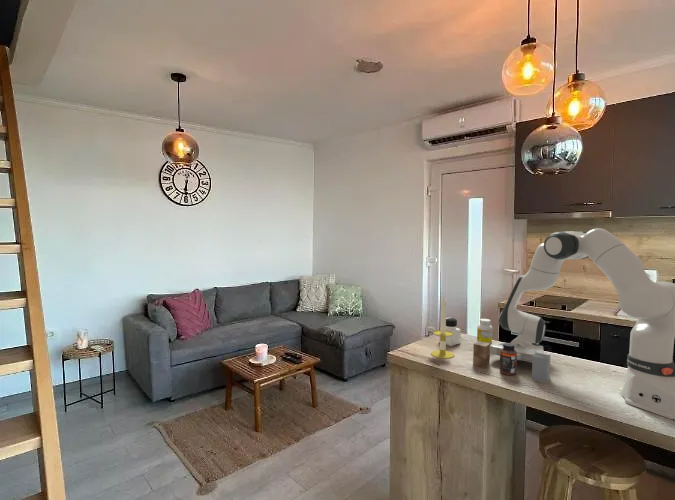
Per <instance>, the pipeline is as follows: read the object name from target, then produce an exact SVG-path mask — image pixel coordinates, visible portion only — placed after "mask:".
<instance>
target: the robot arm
mask: <svg viewBox="0 0 675 500" xmlns="http://www.w3.org/2000/svg"><path fill="white" fill-rule="evenodd" d="M588 258H589V259H590V260H591V261H592V262H593V263H594V264H595V266H597V267H598V268H599V270H600V271H601V272H602V273H603V274H604V275H605V276H606V277H607V279H608V280H609V281H610V282H611V284H612V285H613V287H614V289H615V291H616V293H617V295H618V301H617V302H618V305H619V308H620V309H621V311H622V312H623V313H624V314H626V315H627V316H629V317H633V318H636V319H637V320H636V322H635V324H634V326H633V327H632V329H631V330H630V335H629V336H630V338H629V353H627V358H626V367H627V371H626V377H625V381H624V384H623V388H622V389H621V392H620V395H621V397H622V398H624V402H625V403H626V404H628V405H630V406H633V407H636V408H640V409H643V410H644V411H647V412H651V413H654V414H656V415H659V416H662V417H664V418H667V419H670V420H673V419H674V420H673V421H675V362H674V360H673V359H674V358H673V356H674V344H675V283H673V282H671V281H670V282H669V281H653V280H652V279H651V278H650V276H649V275H648V274H647V272H646V271H645V269H644V263H643V261H642V260H641V259H640V258H639V256H637V255H636V254H635V253H634V252H633V251H632V250H631V249H630V248H629V247H628V246H627V245H626V244H625V243H624V242H623V241H622V240H620V239H619V238H618V237H617V236H615V235H614V234H613V233H611V232H610V231H608V230H607V229H605V228H599V227H596V228H593V229H590V230H589V231H587V232H586V231H572V230H569V231H567V230H566V231H555V232H553V233H551V234H549V235H547V237H546V238H545V239H544V242H542V243H540V244H539V245H538V246H537V247H536V250H535V251H534V254H533V257H532V259H531V262H530V266H529V269H528V271H527V272H526V273H525V274H524V275H523V274H522V275H520V276H519V277H518V279H517V280H516V282H515V284H514V286H513V288H512V291H511V292H510V294H509V296H508V299H507V301H506V303H505V305H504V308H503V309H502V311H501V312H500V314H499V317H498V323H499V325H500V326H501V328H502V329H503V330H506V331H508V332H509V331H510V332H514V333H516V334H519V335H517V336H516V338H513V340H511V342H510V343H511V344H514V349H515V350H516V352H517V361H523V362H527V363H532V359H533V355H534V354H535V353H541V354H545V353H544V352H545V351H544V346H543V345H540V343H541V342H542V341H543V339H544V337H545V336H546V335H545V334H546V330H547V325H546V323H545V320H544V319H543V317H540V316H537V315H535V314H532V313H531V314H530V313H528V312H525V311H521V310H519V309H517V306H518V304H519V302H520V300H521V297H522V296H523V294H524V293H526V292H530V291H545V290H547V289H550V288H553V286H555V284H556V283H557V282H558V279H559V277H560V273H561V269H562V265H563V263H564V262H565V261H566V260H571V261H573V260H574V261H575V260H585V259H588ZM504 343H505V342H497V341H496V342H492V344H491V345H490V355H495V356H499V357H500V350H501V349H502V348H504V347H503V344H504Z"/></svg>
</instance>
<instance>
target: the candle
mask: <svg viewBox="0 0 675 500" xmlns="http://www.w3.org/2000/svg"><path fill="white" fill-rule="evenodd" d="M440 301H441V304H440V305H441V307H440V328H441V330H440V329H439V330H437V329H436V330H433V332H432V333H433V335H434V336H438V337H439V349H436V350H432V351H430V355H431V356H432V357H435V358H437V359H443V360H444V359H445V360H446V359H447V360H449V359H453V358H455V354H454V353H453V352H451V351H450V350H447V349H446V348H447V345H446V337H448V336H452V335H453V333H452V332H450V331H446V318H447V299H446V297H445V295H443V296H442V299H441V300H440Z"/></svg>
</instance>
